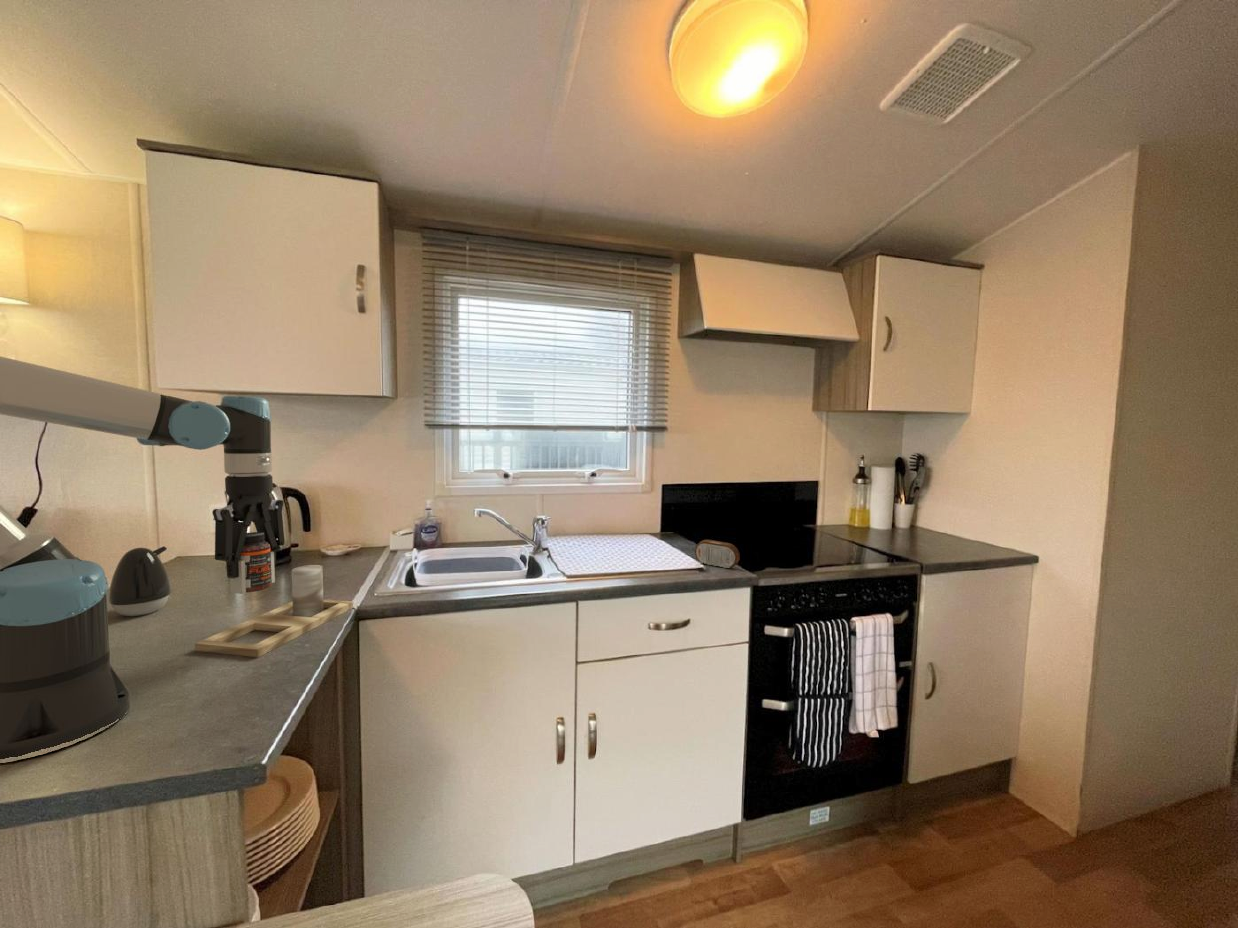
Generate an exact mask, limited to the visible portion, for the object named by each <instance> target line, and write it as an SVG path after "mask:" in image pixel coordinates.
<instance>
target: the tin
mask: <svg viewBox="0 0 1238 928" xmlns="http://www.w3.org/2000/svg"><path fill="white" fill-rule="evenodd" d="M694 555H695V558H696V560H697V561H698V562H699V561H701V562H704V563H707V564H711V565H716V566H727V567H732V568H734V567H735V566H737V565H738V563H739V562H740V557H741V556H740V552H739V550H738V548H737V547H736V546H735V545H734V544H732V543H729V542H724V541H720V540H719V541H718V540H712V539H704V540H701V541H699V542H698V543H697V545H696V546H695V547H694Z"/></svg>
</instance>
